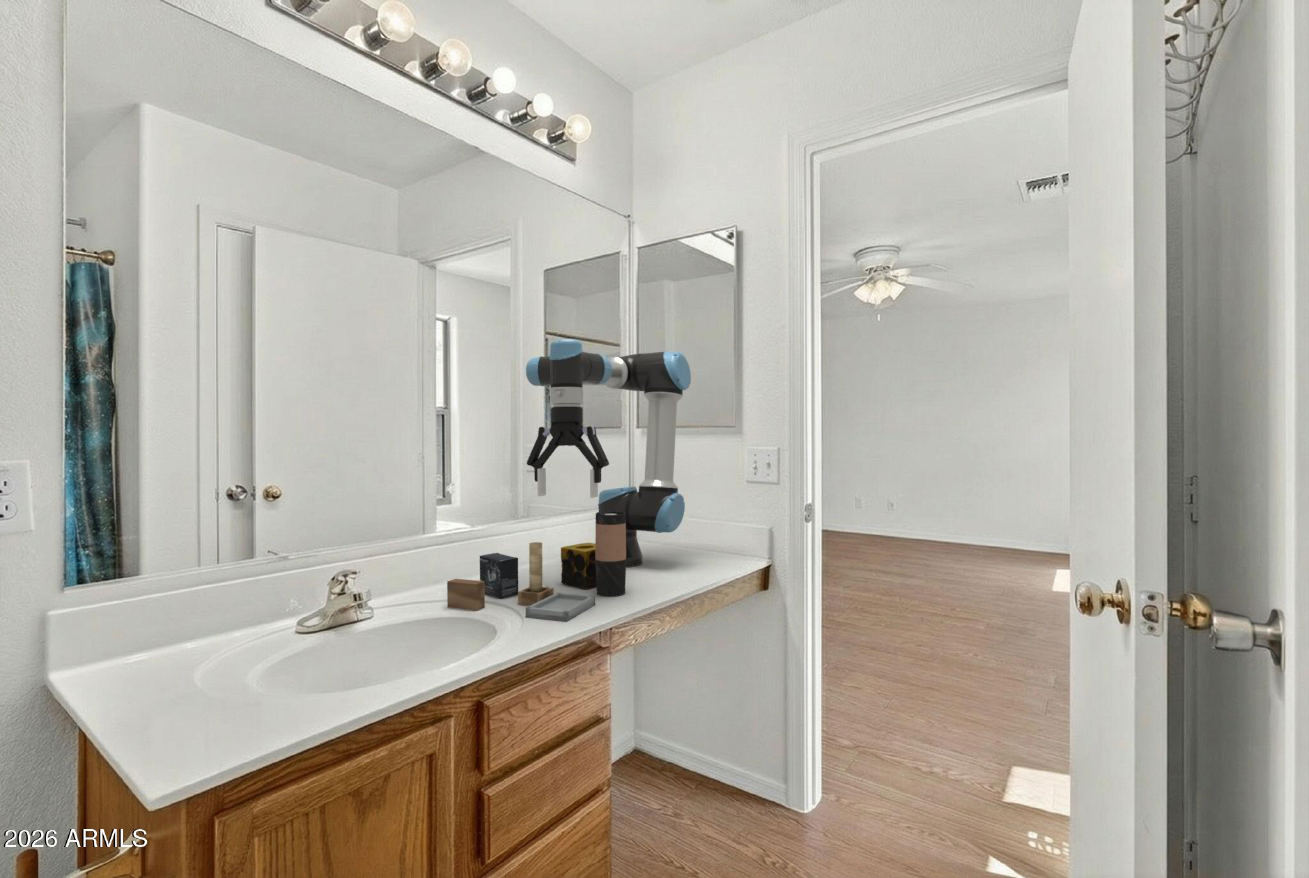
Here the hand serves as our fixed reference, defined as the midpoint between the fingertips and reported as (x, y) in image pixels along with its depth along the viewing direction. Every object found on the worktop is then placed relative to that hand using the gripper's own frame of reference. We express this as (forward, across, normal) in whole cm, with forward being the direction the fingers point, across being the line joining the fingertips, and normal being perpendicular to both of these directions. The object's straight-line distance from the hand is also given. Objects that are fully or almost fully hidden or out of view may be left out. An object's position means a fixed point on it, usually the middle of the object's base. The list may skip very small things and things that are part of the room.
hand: (567, 496), depth 148 cm
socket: (+25, -7, -3) cm, 26 cm away
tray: (+25, +2, -7) cm, 26 cm away
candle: (+26, -4, +18) cm, 31 cm away
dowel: (+25, -7, -3) cm, 26 cm away
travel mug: (+25, +6, +11) cm, 28 cm away
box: (+25, -20, +2) cm, 32 cm away
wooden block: (+25, -20, -11) cm, 34 cm away
